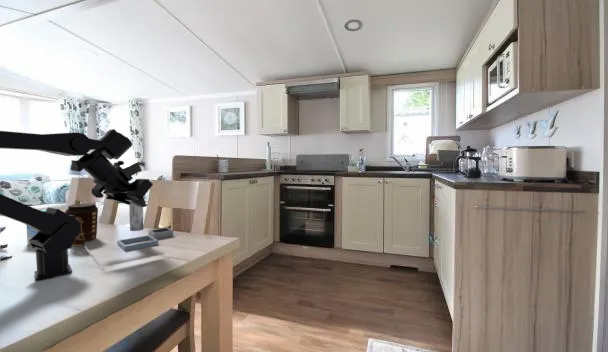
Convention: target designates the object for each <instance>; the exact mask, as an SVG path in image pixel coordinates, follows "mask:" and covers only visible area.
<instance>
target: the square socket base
mask: <svg viewBox="0 0 608 352" xmlns="http://www.w3.org/2000/svg"><path fill="white" fill-rule="evenodd" d="M148 235H150V236H151V237H153V238H155V239H157V240H158V241H159V240H164V239H168V238H175V237H180V236H181V235H180V234H178V233H176V232H174V230H173V229H171V228H169V227H162V228H156V229H150V230H148Z"/></svg>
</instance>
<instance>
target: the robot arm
mask: <svg viewBox="0 0 608 352" xmlns="http://www.w3.org/2000/svg"><path fill="white" fill-rule="evenodd" d="M131 147H133V142H132V141H131V139H129V138H128V136H126V135H125V134H124V135H123V133H120V132H118V131H117V130H116V129H114V128H110V129H108V131H106V133H105V134H104V135H103V136H102V137H100V138H99V139H94V138H89V137H88V135H86V134H85V133H83V132H78V131H77V132H76V131H75V132H59V133H58V132H57V133H44V134H42V133H33V132H32V133H31V132H18V131H6V130H0V149H5V150H7V149H9V150H29V151H39V152H45V153H50V154H55V155H61V156H66V157H78V156H81V157H80V158H78V159H77V160H71V165H70V171H73V172H79V173H81V172H82V171H85V172H86V173H87V174H89V175H90V176H91V177H92V178H93V179H94V180H92V181H93V183H94V184H95V185H94V186H93V187H92V188H91V195H93V196H94V197H95V198H98V199H103V198H104V197H105V196H104V195H106V200H110V201H113V202H117V203H120V204H125V205H127V206H129V202H131V203H134V204H136V205H139V206H142V207H143V208H145V207H146V206H147V203H146V201H145V198H144V197H145V195H146V194H147V193H148V192H149V191H150V189H151V188H152V187H153V185H154V184H153V182H152V181H151V179H150V178H135V179H134V181H132V180H133V176H135V175H136V174H138V173H141V172H142V171H143V170H142V167H141V165H140V162H139V161H138V160H129V161H123V160H119V159H120V158H121V157H122V156H123V155H124V154H125V153H126V152H128V151H129V149H131ZM91 150H92V151H91ZM90 151H91V152H90ZM89 152H90V153H89ZM113 159H114V160H116V161H114V162H113V163H112V162H111V161H112V160H113ZM110 160H111V161H110ZM46 209H47V210H46V212H43V211H40V210H41V209H40V210H39V209H38V208H36V207H32V206H30V205H29V204H28V205H27V204H25V203H23V202H20V201H18V200H15V199H13V198H10V197H8V196H5V195H4V194H1V193H0V216H2V217H6V218H8V219H11V220H14V221H16V222H19V223H21V224H23V225H25V226H26V227H27V226H29V227H30V228H32V229H33V230H35V231H36V232H38V233H37V234H35V235H34V236H33V237H32V238H31V239H30V240H29V243H30V244H29V245H30V246H31V248H32V249H36V250H35V260H36V261H35V263H36V270H35V271H34V281H40V280H45V279H49V278H55V277H58V276H64V275H68V274H71V273H73V270H72V267H71V264H69V250H68V249H72V247H73V246H72V245H73V242H74V240H75V238H76V237H77V236H78V235H79V233H80V231H81V226H80V223H79V221H77V220H76V219H73V218H75V217H76V216H73V215H68V214H66V213H64V212H63V211H61V210H62V209H59V208H56V207H47V208H46Z"/></svg>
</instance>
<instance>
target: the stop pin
mask: <svg viewBox="0 0 608 352" xmlns="http://www.w3.org/2000/svg"><path fill="white" fill-rule="evenodd" d="M128 206H129V231H130V232H138V231H143V230H144V207H142V206H139V205H136V204H134V203H131V202H129V205H128Z"/></svg>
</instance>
